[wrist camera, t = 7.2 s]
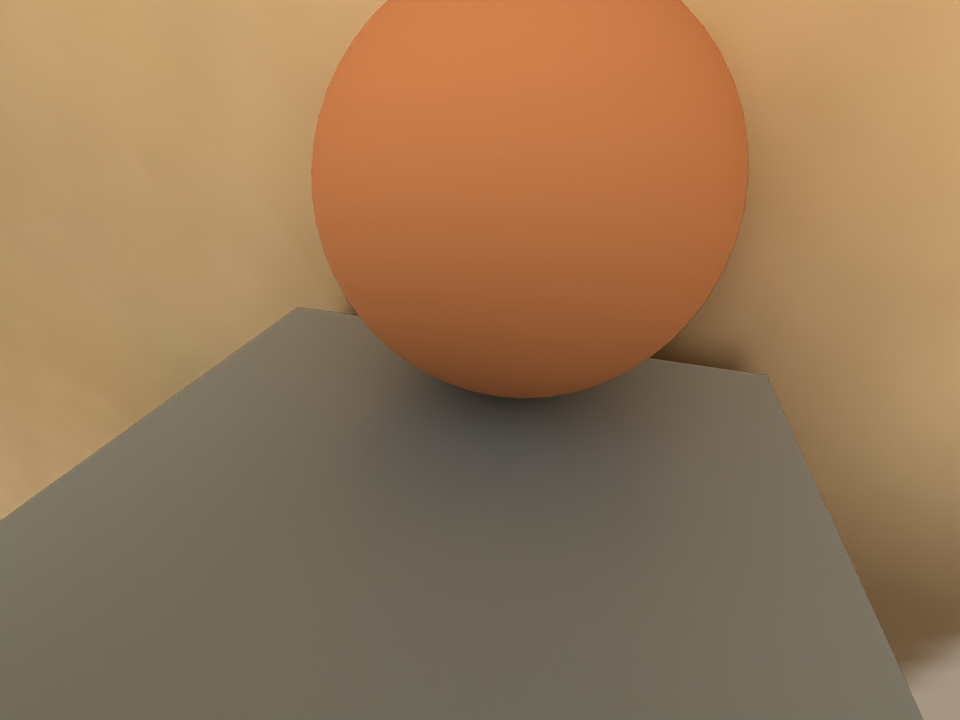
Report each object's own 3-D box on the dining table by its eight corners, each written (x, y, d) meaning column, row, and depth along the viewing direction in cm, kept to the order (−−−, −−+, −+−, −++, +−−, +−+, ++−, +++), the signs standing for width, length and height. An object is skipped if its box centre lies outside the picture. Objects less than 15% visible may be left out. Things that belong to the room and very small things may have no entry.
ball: (521, 408, 10) (447, 560, 5) (346, 189, 10) (106, 143, 5) (772, 225, 9) (985, 208, 4) (571, -34, 8) (527, -396, 4)
